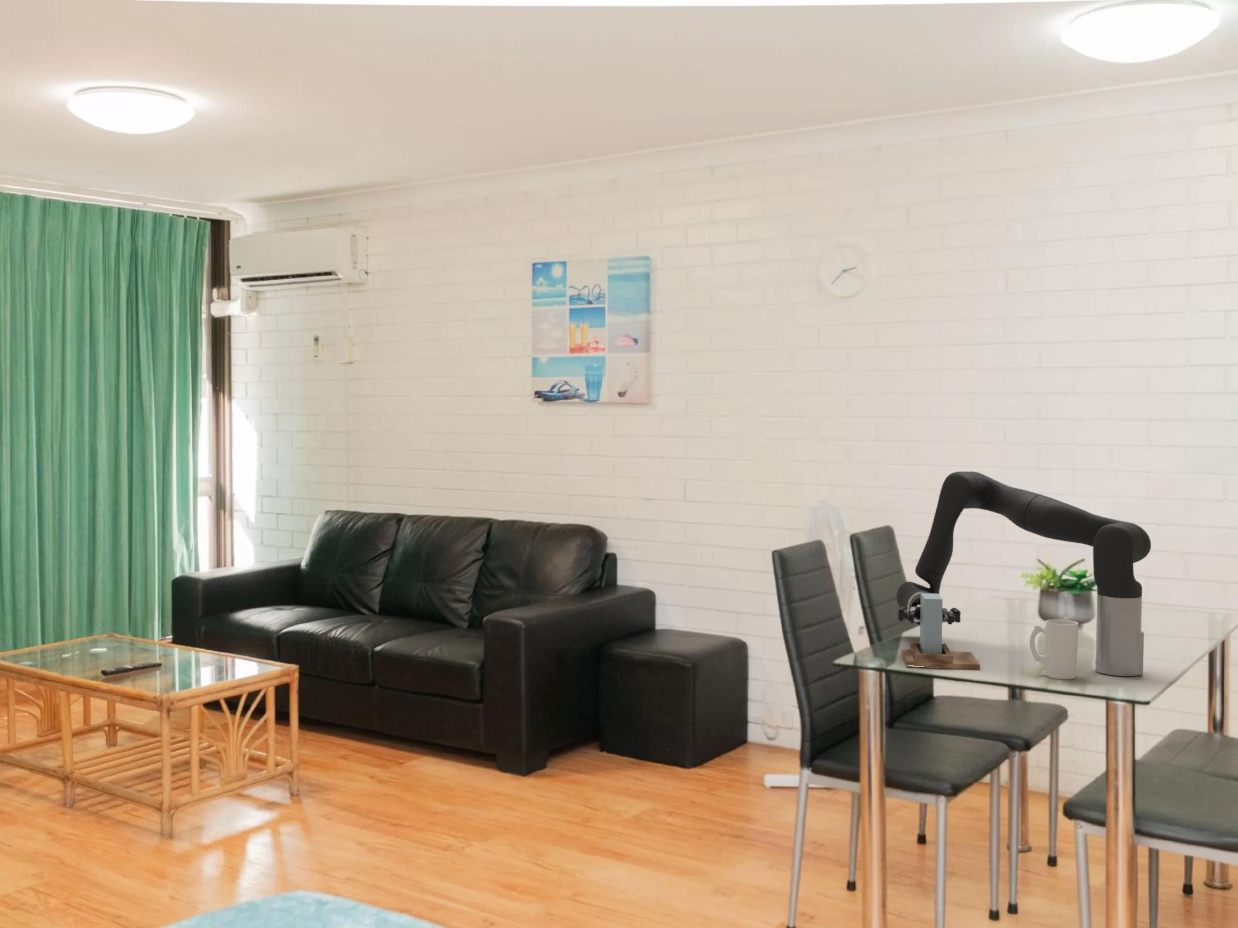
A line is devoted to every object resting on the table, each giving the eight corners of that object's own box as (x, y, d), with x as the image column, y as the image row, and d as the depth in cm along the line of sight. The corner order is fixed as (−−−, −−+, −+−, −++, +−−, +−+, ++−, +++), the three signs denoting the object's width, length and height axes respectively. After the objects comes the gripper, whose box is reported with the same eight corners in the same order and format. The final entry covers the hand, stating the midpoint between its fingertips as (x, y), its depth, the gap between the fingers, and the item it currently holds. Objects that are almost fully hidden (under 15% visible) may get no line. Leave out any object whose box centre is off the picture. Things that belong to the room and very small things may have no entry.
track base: (970, 656, 288) (970, 644, 288) (979, 669, 273) (980, 656, 273) (901, 654, 290) (901, 641, 290) (906, 667, 275) (906, 653, 275)
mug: (1079, 675, 268) (1080, 621, 267) (1074, 681, 262) (1075, 625, 262) (1032, 670, 273) (1033, 617, 272) (1026, 675, 267) (1027, 621, 267)
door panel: (937, 652, 286) (938, 593, 286) (941, 660, 277) (942, 599, 277) (919, 652, 287) (920, 593, 286) (923, 659, 278) (924, 598, 277)
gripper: (894, 592, 297) (900, 602, 281) (954, 593, 295) (963, 603, 279) (894, 622, 298) (899, 634, 282) (954, 624, 296) (963, 636, 280)
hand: (931, 619), depth 280 cm, fingers open, 8 cm apart
